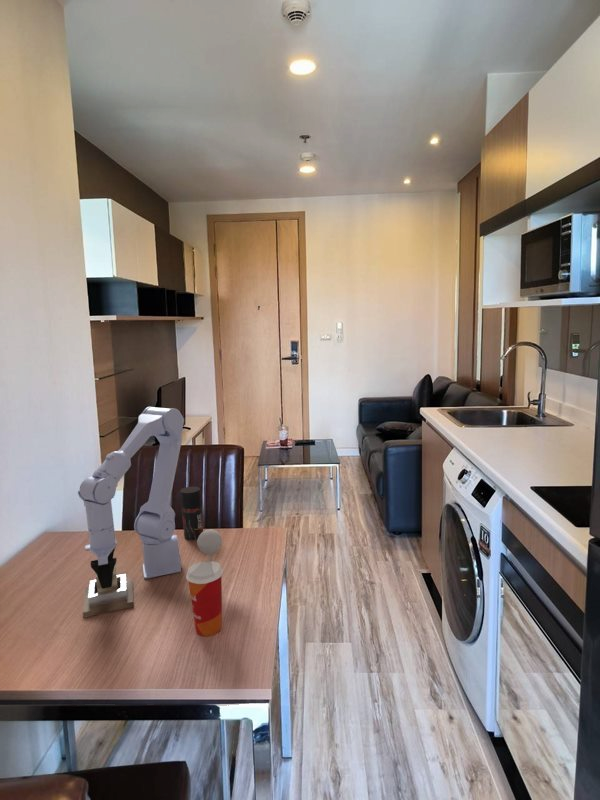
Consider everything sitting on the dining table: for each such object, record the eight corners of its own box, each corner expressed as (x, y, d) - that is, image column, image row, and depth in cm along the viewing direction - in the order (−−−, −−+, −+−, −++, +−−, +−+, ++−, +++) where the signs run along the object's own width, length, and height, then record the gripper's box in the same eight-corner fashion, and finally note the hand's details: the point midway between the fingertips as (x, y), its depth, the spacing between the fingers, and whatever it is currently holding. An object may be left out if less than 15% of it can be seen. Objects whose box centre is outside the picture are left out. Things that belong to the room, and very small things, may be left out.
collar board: (132, 582, 131) (130, 569, 130) (133, 606, 119) (132, 592, 119) (86, 591, 127) (84, 578, 126) (83, 617, 116) (81, 602, 115)
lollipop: (213, 595, 122) (209, 537, 120) (195, 589, 126) (191, 532, 123) (230, 584, 128) (226, 527, 125) (212, 578, 131) (208, 523, 128)
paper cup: (195, 618, 113) (190, 560, 111) (229, 617, 113) (225, 559, 111) (186, 640, 106) (181, 578, 103) (223, 639, 105) (218, 577, 103)
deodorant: (199, 540, 154) (195, 493, 151) (181, 539, 155) (176, 492, 153) (206, 532, 160) (203, 486, 157) (189, 531, 161) (185, 486, 158)
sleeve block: (118, 587, 126) (115, 565, 125) (118, 596, 122) (115, 573, 121) (99, 591, 124) (96, 569, 123) (98, 600, 120) (95, 577, 119)
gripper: (84, 518, 126) (90, 569, 128) (80, 541, 112) (87, 598, 114) (114, 513, 128) (120, 563, 130) (114, 535, 114) (120, 591, 117)
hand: (107, 579), depth 122 cm, fingers open, 7 cm apart
